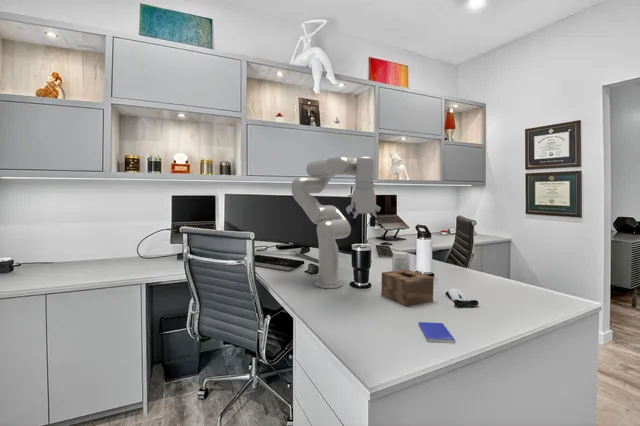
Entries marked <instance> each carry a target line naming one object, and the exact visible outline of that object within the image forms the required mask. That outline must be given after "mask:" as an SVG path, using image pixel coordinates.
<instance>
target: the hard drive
mask: <svg viewBox="0 0 640 426" xmlns="http://www.w3.org/2000/svg"><path fill="white" fill-rule="evenodd" d="M417 323H418V327H419V329H420V331H421V332H422V335H423V336H424V339H425V340H426V342H427V343H445V344H447V343H449V344H450V343H452V344H455V343H456V339H455V338H454V337H453V335H452V334H451V333H450V331H449V330H448V328H447V327H446V326H445V324H444V323H442V322H426V321H425V322H424V321H420V322H419V321H418V322H417Z"/></svg>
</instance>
